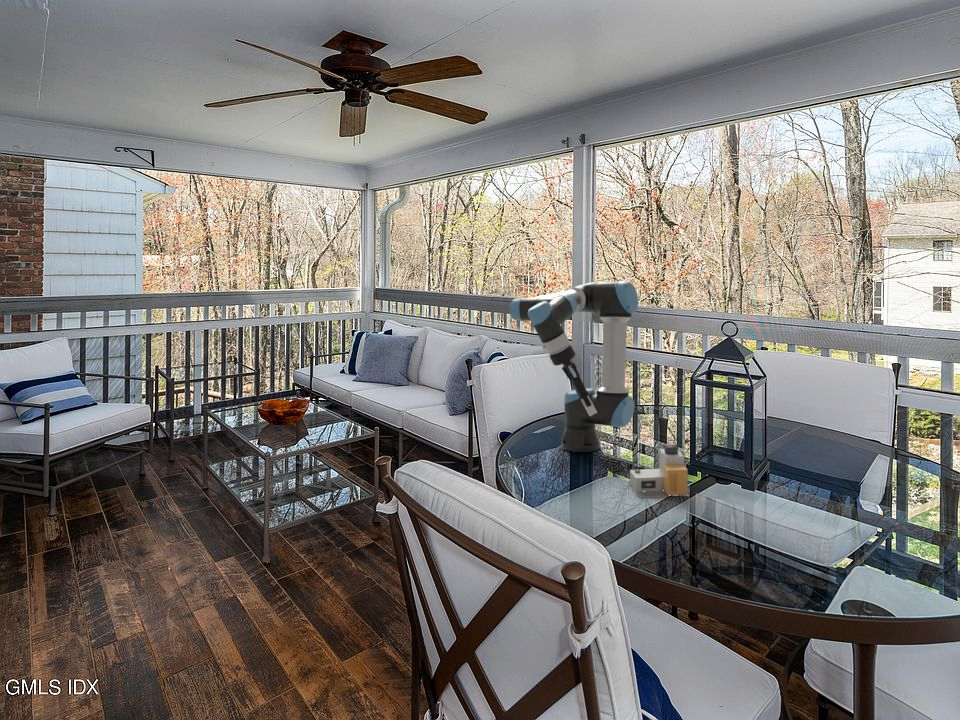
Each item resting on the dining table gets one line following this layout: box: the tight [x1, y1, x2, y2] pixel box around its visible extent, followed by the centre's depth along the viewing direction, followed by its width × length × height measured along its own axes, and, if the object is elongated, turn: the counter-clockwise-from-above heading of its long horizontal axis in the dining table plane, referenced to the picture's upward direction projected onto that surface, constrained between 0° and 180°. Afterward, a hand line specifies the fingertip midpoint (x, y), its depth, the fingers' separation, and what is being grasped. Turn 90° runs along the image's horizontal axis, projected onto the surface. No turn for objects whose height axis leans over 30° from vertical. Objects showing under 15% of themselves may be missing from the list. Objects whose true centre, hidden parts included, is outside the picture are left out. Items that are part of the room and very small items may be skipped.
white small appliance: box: [629, 444, 684, 499], centre depth 178 cm, size 15×12×13 cm
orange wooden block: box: [663, 464, 689, 496], centre depth 174 cm, size 6×5×8 cm
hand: (593, 413), depth 180 cm, fingers closed
